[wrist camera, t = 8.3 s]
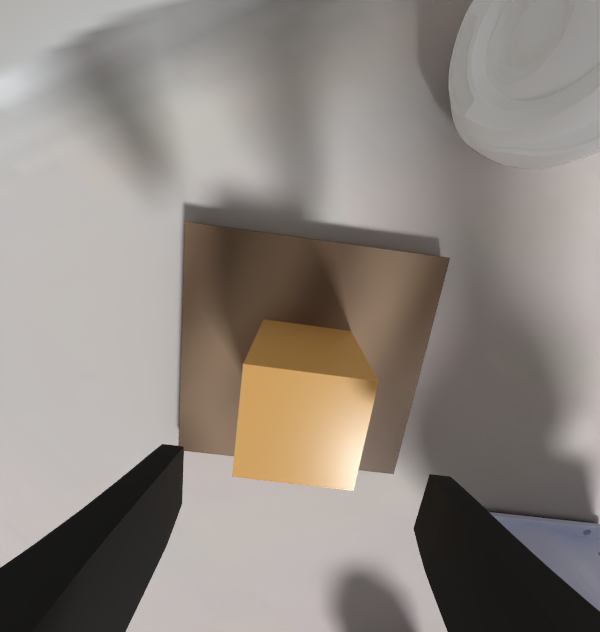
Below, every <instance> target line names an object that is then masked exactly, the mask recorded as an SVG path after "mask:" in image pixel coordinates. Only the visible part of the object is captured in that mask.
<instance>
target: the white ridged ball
mask: <svg viewBox="0 0 600 632" xmlns="http://www.w3.org/2000/svg"><path fill="white" fill-rule="evenodd" d="M449 97H450V103H451V112H452V118H453V122H454V125H455V127H456V130H457V132H458V134H459V136H460V137H461V138H462V139H463V141H464V142H465V143H466V144H468V145H469V146H470V147H471V148H472V149H474V150H475V151H477V152H478V153H480V154H481V155H483V156H485V157H487V158H488V159H490V160H493V161H495V162H497V163H500V164H503V165H507V166H511V167H516V168H523V169H541V168H548V167H553V166H557V165H561V164H565V163H568V162H572V161H575V160H578V159H581V158H584V157H587V156H589V155H592V154H595V153H597V152H600V0H473V2H472V3H471V5H470V7H469V8H468V10H467V12H466V14H465V16H464V19H463V21H462V24H461V26H460V29H459V32H458V35H457V38H456V41H455V45H454V48H453V52H452V57H451V62H450V68H449Z"/></svg>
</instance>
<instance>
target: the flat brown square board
mask: <svg viewBox="0 0 600 632" xmlns="http://www.w3.org/2000/svg"><path fill="white" fill-rule="evenodd" d="M449 259H450V258H446V257H439V256H431V255H424V254H417V253H409V252H402V251H395V250H387V249H380V248H373V247H366V246H358V245H351V244H344V243H336V242H329V241H322V240H314V239H307V238H300V237H292V236H285V235H278V234H270V233H263V232H256V231H249V230H241V229H234V228H227V227H219V226H212V225H205V224H197V223H190V222H185V238H184V274H183V309H182V344H181V380H180V415H179V446H183V447H184V451H192V452H201V453H210V454H219V455H228V456H234V452H235V442H236V432H237V421H238V411H239V401H240V390H241V380H242V370H243V363H244V361H245V359H246V356H247V354H248V352H249V350H250V348H251V345H252V343H253V341H254V339H255V337H256V335H257V332H258V330H259V328H260V326H261V324H262V321H263V319H265V320H273V321H280V322H288V323H295V324H302V325H310V326H317V327H325V328H332V329H339V330H347V331H351V332H352V334H353V335H354V337H355V339H356V341H357V343H358V344H359V346H360V348H361V350H362V352H363V354H364V355H365V357H366V359H367V361H368V363H369V364H370V366H371V368H372V370H373V372H374V374H375V375H376V377H377V379H378V381H379V383H378V387H377V391H376V396H375V400H374V404H373V409H372V413H371V417H370V422H369V426H368V430H367V434H366V439H365V443H364V447H363V452H362V456H361V460H360V465H359V469H358V470H363V471H372V472H381V473H390V474H394V470H395V467H396V463H397V459H398V455H399V451H400V447H401V444H402V440H403V436H404V432H405V428H406V424H407V421H408V417H409V413H410V409H411V405H412V401H413V398H414V394H415V390H416V386H417V382H418V378H419V375H420V371H421V367H422V363H423V359H424V355H425V351H426V348H427V344H428V340H429V336H430V332H431V328H432V325H433V321H434V317H435V313H436V309H437V305H438V302H439V298H440V294H441V290H442V286H443V282H444V279H445V275H446V271H447V267H448V263H449Z"/></svg>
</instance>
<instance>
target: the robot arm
mask: <svg viewBox="0 0 600 632" xmlns="http://www.w3.org/2000/svg"><path fill="white" fill-rule="evenodd" d="M183 457H184V447H183V446H174V445H165V444H162V445H161V446H159V447H158V448H157V449H156V450H154V451H153V452H152V453H151V454H150V455H148V456H147V457H146V458H145V459H144V460H142V461H141V462H140V463H139V464H138V465H136V466H135V467H134V468H133V469H131V470H130V471H129V472H128V473H127V474H125V475H124V476H123V477H122V478H121V479H119V480H118V481H117V482H116V483H114V484H113V485H112V486H111V487H109V488H108V489H107V490H106V491H104V492H103V493H102V494H100V495H99V496H98V497H97V498H95V499H94V500H93V501H92V502H90V503H89V504H88V505H87V506H85V507H84V508H83V509H81V510H80V511H79V512H77V513H76V514H75V515H73V516H72V517H71V518H69V519H68V520H67V521H65V522H64V523H63V524H61V525H60V526H59V527H57V528H56V529H54V530H53V531H52V532H50V533H49V534H48V535H46V536H45V537H44V538H42V539H41V540H40V541H38V542H37V543H35V544H34V545H33V546H31V547H30V548H28V549H27V550H25V551H24V552H23V553H21V554H20V555H18V556H17V557H15V558H14V559H13V560H11V561H10V562H8V563H7V564H5V565H4V566H2V567H1V568H0V632H125V631H126V629H127V627H128V625H129V623H130V621H131V619H132V617H133V615H134V613H135V611H136V609H137V606H138V604H139V602H140V600H141V598H142V596H143V594H144V592H145V590H146V588H147V586H148V584H149V581H150V579H151V577H152V575H153V573H154V571H155V569H156V567H157V565H158V563H159V560H160V558H161V556H162V554H163V552H164V550H165V548H166V545H167V543H168V540H169V538H170V535H171V532H172V530H173V527H174V524H175V521H176V519H177V516H178V513H179V510H180V508H181V505H182V486H183ZM414 532H415V536H416V540H417V543H418V547H419V551H420V555H421V558H422V562H423V566H424V569H425V572H426V575H427V578H428V581H429V583H430V586H431V589H432V591H433V594H434V597H435V599H436V602H437V605H438V607H439V610H440V613H441V615H442V618H443V621H444V623H445V626H446V628H447V631H448V632H600V524H595V523H586V522H577V521H568V520H558V519H549V518H540V517H530V516H521V515H512V514H503V513H493V512H488V511H487V510H486V509H485V508H484V507H483V506H482V505H481V504H480V503H479V502H478V501H477V500H475V499H474V498H473V497H472V496H471V495H470V494H469V493H468V492H467V491H466V490H465V489H464V488H462V487H461V486H460V485H459V484H458V483H457V482H456V481H455V480H453V479H452V478H451V477H449V476H440V475H431V474H430V475H429V479H428V482H427V485H426V489H425V492H424V496H423V499H422V502H421V506H420V509H419V512H418V516H417V519H416V522H415V526H414Z"/></svg>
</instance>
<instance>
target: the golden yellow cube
mask: <svg viewBox="0 0 600 632" xmlns="http://www.w3.org/2000/svg"><path fill="white" fill-rule="evenodd" d="M378 383H379V381H378V379H377V377H376V375H375V374H374V372H373V370H372V368H371V366H370V364H369V363H368V361H367V359H366V357H365V355H364V354H363V352H362V350H361V348H360V346H359V344H358V343H357V341H356V339H355V337H354V335H353V334H352V332H351V331H347V330H339V329H332V328H325V327H317V326H310V325H302V324H295V323H288V322H280V321H273V320H265V319H263V321H262V324H261V326H260V328H259V330H258V332H257V335H256V337H255V339H254V341H253V343H252V345H251V348H250V350H249V352H248V354H247V356H246V359H245V361H244V363H243V370H242V380H241V390H240V401H239V411H238V421H237V432H236V442H235V452H234V463H233V473H232V477H239V478H248V479H257V480H265V481H274V482H283V483H291V484H300V485H309V486H317V487H326V488H335V489H343V490H352V491H354V486H355V482H356V478H357V473H358V469H359V465H360V460H361V456H362V452H363V447H364V443H365V439H366V434H367V430H368V426H369V422H370V417H371V413H372V409H373V404H374V400H375V396H376V391H377V387H378Z"/></svg>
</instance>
